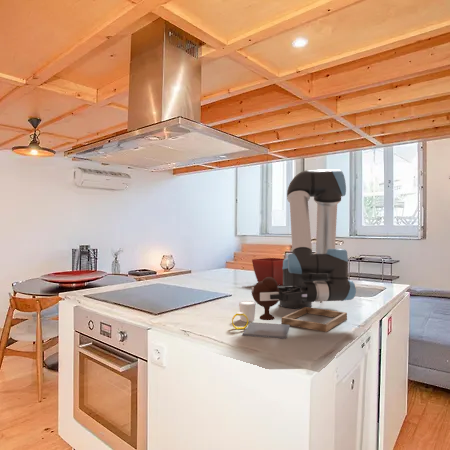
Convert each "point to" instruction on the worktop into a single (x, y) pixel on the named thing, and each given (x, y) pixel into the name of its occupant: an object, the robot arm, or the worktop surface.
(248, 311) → the white cup
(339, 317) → the wooden picture frame
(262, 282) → the ice cream bowl
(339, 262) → the robot arm
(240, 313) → the watch
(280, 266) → the plant pot
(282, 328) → the plate
